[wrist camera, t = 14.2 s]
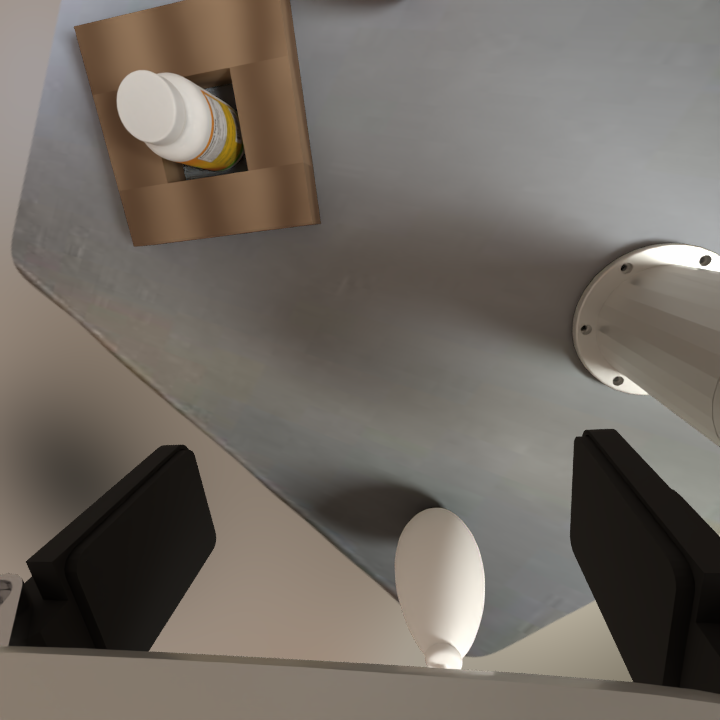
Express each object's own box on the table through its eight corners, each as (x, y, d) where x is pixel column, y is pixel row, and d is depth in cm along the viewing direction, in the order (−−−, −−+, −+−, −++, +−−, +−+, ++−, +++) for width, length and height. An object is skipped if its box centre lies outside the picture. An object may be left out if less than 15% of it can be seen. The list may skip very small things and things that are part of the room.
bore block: (289, 0, 31) (276, -22, 28) (320, 223, 36) (312, 223, 33) (103, 43, 34) (73, 26, 31) (155, 244, 38) (134, 246, 36)
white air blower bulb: (420, 558, 46) (420, 756, 29) (386, 503, 44) (364, 680, 27) (486, 535, 43) (529, 735, 26) (453, 477, 42) (475, 651, 25)
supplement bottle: (176, 143, 35) (91, 116, 26) (207, 85, 34) (128, 34, 24) (226, 186, 36) (160, 173, 27) (260, 130, 34) (201, 97, 25)
